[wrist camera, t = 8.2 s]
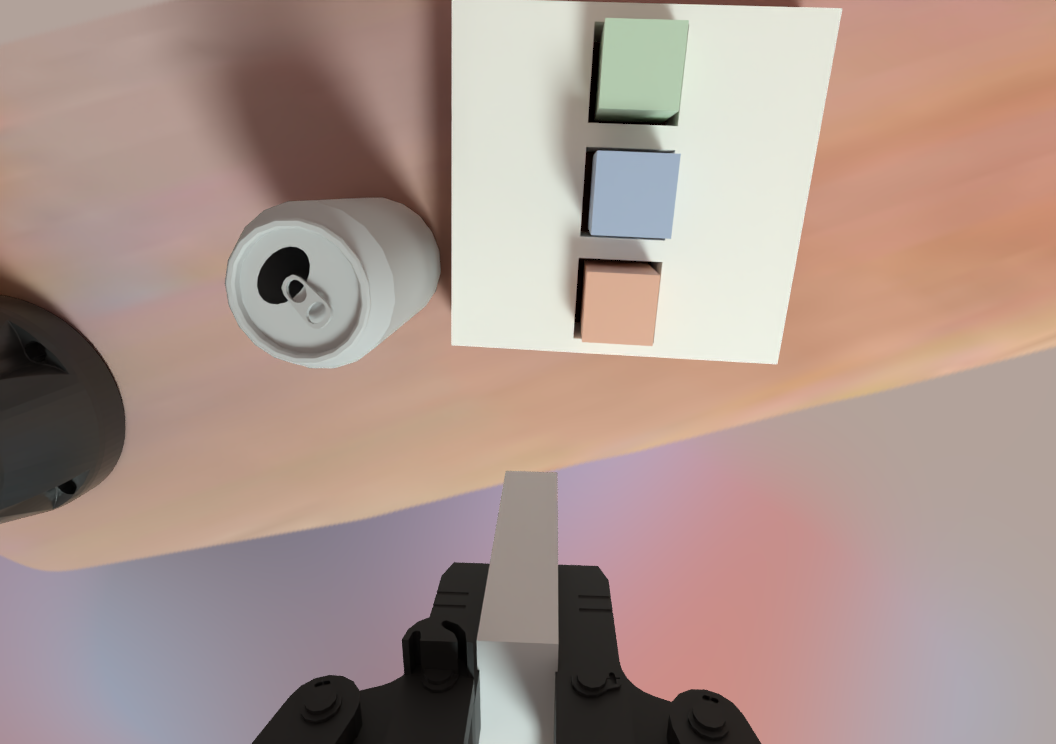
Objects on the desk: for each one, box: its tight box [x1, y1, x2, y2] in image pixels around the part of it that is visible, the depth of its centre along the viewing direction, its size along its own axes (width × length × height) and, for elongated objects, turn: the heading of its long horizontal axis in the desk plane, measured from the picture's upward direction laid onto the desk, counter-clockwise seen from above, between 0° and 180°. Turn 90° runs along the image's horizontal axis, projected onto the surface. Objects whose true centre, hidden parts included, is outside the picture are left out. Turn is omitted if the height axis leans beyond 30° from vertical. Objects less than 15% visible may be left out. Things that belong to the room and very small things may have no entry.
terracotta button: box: [580, 260, 660, 346], centre depth 31 cm, size 4×4×5 cm
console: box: [452, 0, 842, 364], centre depth 31 cm, size 18×17×4 cm
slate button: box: [588, 150, 681, 239], centre depth 28 cm, size 4×4×5 cm
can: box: [225, 198, 441, 368], centre depth 30 cm, size 8×8×12 cm
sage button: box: [594, 18, 689, 123], centre depth 28 cm, size 4×4×5 cm
